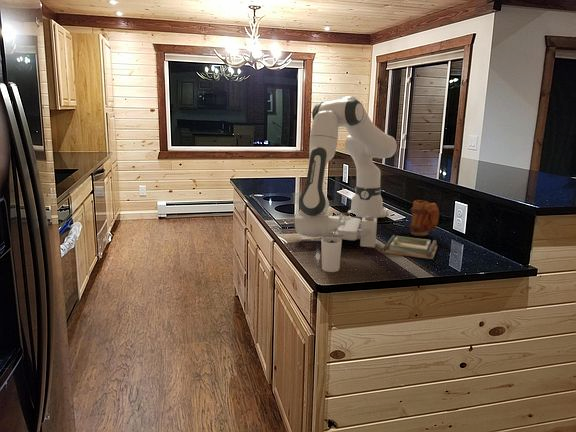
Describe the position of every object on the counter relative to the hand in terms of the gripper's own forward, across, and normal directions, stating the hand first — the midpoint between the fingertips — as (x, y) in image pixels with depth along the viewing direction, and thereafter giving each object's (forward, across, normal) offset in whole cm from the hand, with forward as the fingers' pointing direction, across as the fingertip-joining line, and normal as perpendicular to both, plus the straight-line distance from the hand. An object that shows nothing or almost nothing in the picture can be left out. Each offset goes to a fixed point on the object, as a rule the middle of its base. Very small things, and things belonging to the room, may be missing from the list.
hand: (371, 229), depth 179 cm
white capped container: (-1, 0, +6) cm, 6 cm away
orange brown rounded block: (+20, +17, +6) cm, 27 cm away
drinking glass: (-11, -30, +6) cm, 32 cm away
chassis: (+15, -3, +6) cm, 16 cm away
